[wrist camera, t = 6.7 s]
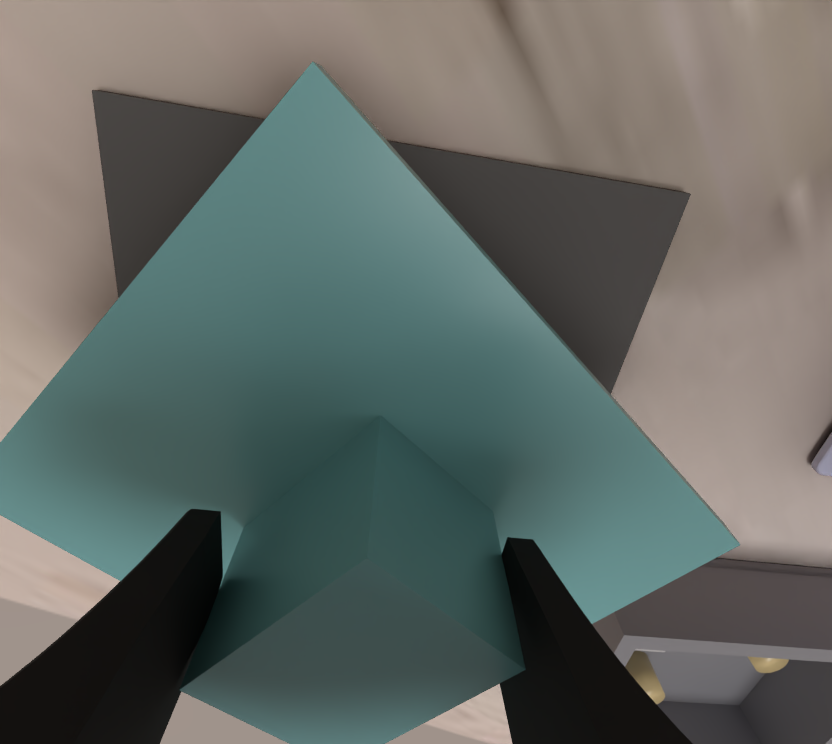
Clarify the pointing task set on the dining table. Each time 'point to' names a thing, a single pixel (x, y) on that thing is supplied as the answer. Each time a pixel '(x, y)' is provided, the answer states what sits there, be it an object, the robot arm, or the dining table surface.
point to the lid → (346, 440)
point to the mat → (452, 184)
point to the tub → (734, 652)
